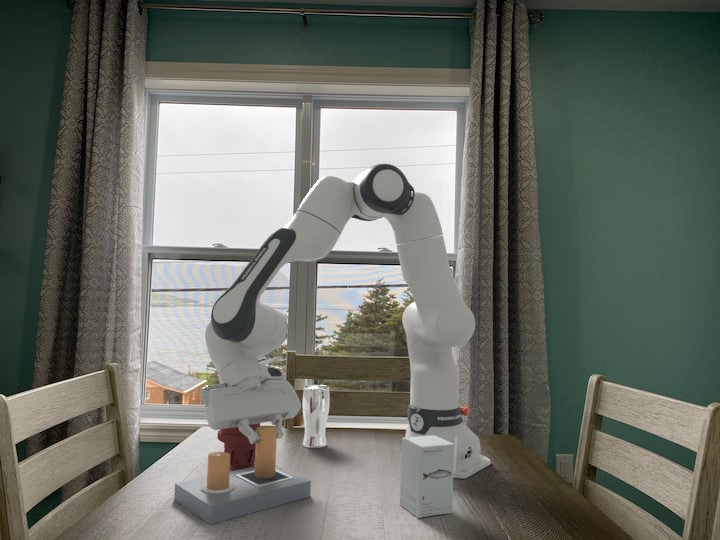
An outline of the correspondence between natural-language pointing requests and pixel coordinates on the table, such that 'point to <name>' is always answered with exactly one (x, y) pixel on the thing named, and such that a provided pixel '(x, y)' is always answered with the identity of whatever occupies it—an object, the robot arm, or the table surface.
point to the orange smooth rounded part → (266, 452)
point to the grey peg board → (237, 490)
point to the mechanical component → (238, 447)
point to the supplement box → (427, 475)
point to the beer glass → (315, 415)
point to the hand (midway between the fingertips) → (268, 439)
